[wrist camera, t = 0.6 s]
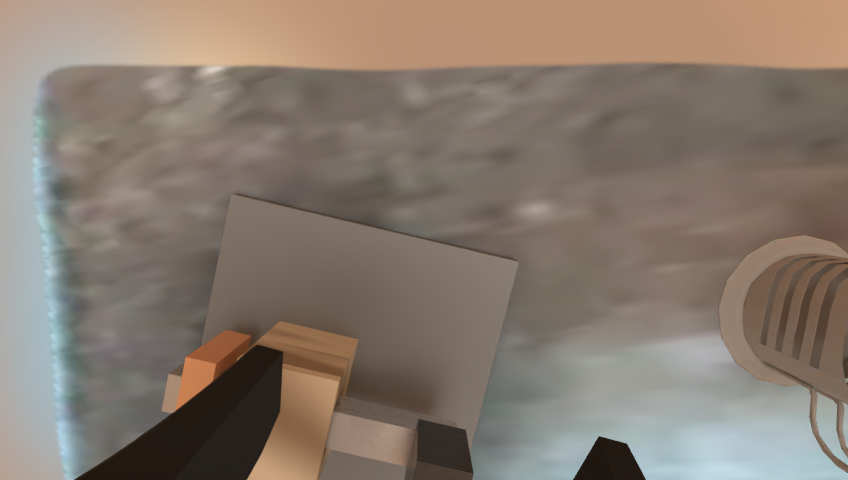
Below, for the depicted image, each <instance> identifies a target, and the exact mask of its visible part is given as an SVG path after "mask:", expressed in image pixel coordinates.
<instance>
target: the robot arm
mask: <svg viewBox="0 0 848 480" xmlns="http://www.w3.org/2000/svg"><path fill="white" fill-rule="evenodd" d="M282 367H283V351H280V350H276V349H272V348H269V347H265V346H261V345H256V346H254V347H252V348H251V349H250V350H249V351H248V352H247V353H245V354H244V355H243V356H242V357H241V358H240V359H239V360H237V361H236V362H235V363H234V364H233V365H232V366H230V367H229V368H228V369H227V370H226V371H225V372H223V373H222V374H221V375H220V376H219V377H217V378H216V379H215V380H214V381H213V382H211V383H210V384H209V385H208V386H206V387H205V388H204V389H203V390H201V391H200V392H199V393H198V394H196V395H195V396H194V397H193V398H191V399H190V400H189V401H187V402H186V403H185V404H184V405H182V406H181V407H180V408H178V409H177V410H176V411H175V412H173V413H172V414H171V415H169V416H168V417H167V418H165V419H164V420H162V421H161V422H160V423H158V424H157V425H155V426H154V427H153V428H151V429H150V430H149V431H147V432H146V433H144V434H143V435H142V436H140V437H139V438H137V439H136V440H135V441H133V442H132V443H130V444H129V445H127V446H126V447H124V448H123V449H121V450H120V451H118V452H117V453H115V454H114V455H112V456H111V457H109V458H108V459H106V460H105V461H103V462H102V463H100V464H99V465H97V466H95V467H94V468H92V469H91V470H89V471H88V472H86V473H84V474H83V475H81V476H80V477H78V478H76V479H75V480H247V479H248V477H249V475H250V473H251V472H252V470H253V468H254V466H255V465H256V463H257V461H258V459H259V457H260V456H261V454H262V452H263V449H264V447H265V445H266V443H267V441H268V438H269V436H270V434H271V431H272V429H273V427H274V424H275V422H276V420H277V417H278V415H279V413H280V406H281V387H282ZM573 480H646V479H645V477H644V475H643V473H642V471H641V470H640V468H639V466H638V464H637V462H636V460H635V458H634V456H633V454H632V452H631V451H630V449H629V447H628V445H627V444H626V443H622V442H618V441H615V440H611V439H607V438H604V437H600V436H599V437H598V439H597V440H596V442H595V444H594V446H593V447H592V449H591V451H590V452H589V454H588V456H587V457H586V459H585V461H584V462H583V464H582V466H581V467H580V469H579V471H578V472H577V474H576V476H575V478H574V479H573Z"/></svg>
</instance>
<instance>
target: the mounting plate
mask: <svg viewBox="0 0 848 480" xmlns="http://www.w3.org/2000/svg"><path fill="white" fill-rule="evenodd" d="M518 264H519V262H518V261H517V260H515V259H511V258H506V257H502V256H498V255H494V254H489V253H485V252H481V251H477V250H472V249H468V248H464V247H460V246H455V245H451V244H447V243H443V242H439V241H434V240H430V239H426V238H422V237H417V236H413V235H409V234H405V233H400V232H396V231H392V230H388V229H383V228H379V227H375V226H371V225H367V224H362V223H358V222H354V221H350V220H345V219H341V218H337V217H333V216H328V215H324V214H320V213H316V212H311V211H307V210H303V209H299V208H294V207H290V206H286V205H282V204H278V203H273V202H269V201H265V200H261V199H256V198H252V197H248V196H244V195H239V194H231V197H230V202H229V207H228V212H227V217H226V222H225V227H224V232H223V237H222V242H221V247H220V252H219V257H218V262H217V267H216V272H215V277H214V282H213V287H212V292H211V297H210V302H209V307H208V312H207V317H206V322H205V327H204V332H203V337H202V342H201V346H203V345H204V344H206V343H207V342H209V341H210V340H212V339H213V338H215V337H216V336H217V335H219V334H220V333H222V332H223V331H225V330H228V331H233V332H237V333H241V334H246V335H250V336H251V338H250V343H249V348H250V347H251V346H252V345H253V344H254V343H255V342H257V341H258V340H259V339H260V338H261V337H262V336H263V335H265V334H266V333H267V332H268V331H269V330H270V329H271V328H273V327H274V326H275V325H276V324H277V323H278V322H280V321H282V322H287V323H291V324H295V325H300V326H304V327H308V328H312V329H317V330H321V331H325V332H330V333H334V334H338V335H343V336H347V337H351V338H356V339H359V340H358V344H357V349H356V353H355V357H354V362H353V366H352V371H351V375H350V379H349V384H348V388H347V392H346V397H350V398H354V399H358V400H363V401H367V402H372V403H376V404H380V405H385V406H389V407H393V408H398V409H402V410H406V411H411V412H415V413H419V414H424V415H428V416H433V417H437V418H441V419H446V420H450V421H454V422H457V428H461V429H465V430H466V434H467V439H468V445H469V451H471V447H472V443H473V439H474V435H475V431H476V427H477V423H478V420H479V416H480V412H481V408H482V404H483V400H484V396H485V392H486V388H487V385H488V381H489V377H490V373H491V369H492V365H493V361H494V357H495V353H496V349H497V346H498V342H499V338H500V334H501V330H502V326H503V322H504V318H505V314H506V310H507V307H508V303H509V299H510V295H511V291H512V287H513V283H514V279H515V275H516V272H517V268H518ZM249 348H248V349H249ZM405 471H406V466H401V465H397V464H392V463H388V462H384V461H379V460H375V459H370V458H366V457H362V456H357V455H353V454H348V453H344V452H340V451H335V450H331V449H330V452H329V455H328V457H327V460H326V463H325V466H324V468H323V471H322V474H321V476H320V479H319V480H404V479H405Z"/></svg>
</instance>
